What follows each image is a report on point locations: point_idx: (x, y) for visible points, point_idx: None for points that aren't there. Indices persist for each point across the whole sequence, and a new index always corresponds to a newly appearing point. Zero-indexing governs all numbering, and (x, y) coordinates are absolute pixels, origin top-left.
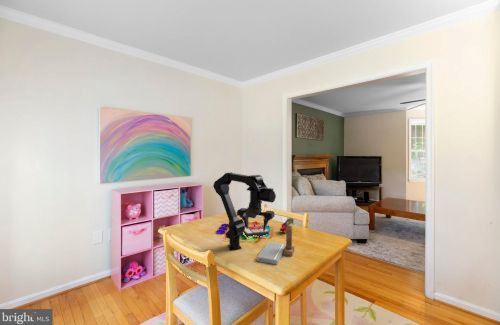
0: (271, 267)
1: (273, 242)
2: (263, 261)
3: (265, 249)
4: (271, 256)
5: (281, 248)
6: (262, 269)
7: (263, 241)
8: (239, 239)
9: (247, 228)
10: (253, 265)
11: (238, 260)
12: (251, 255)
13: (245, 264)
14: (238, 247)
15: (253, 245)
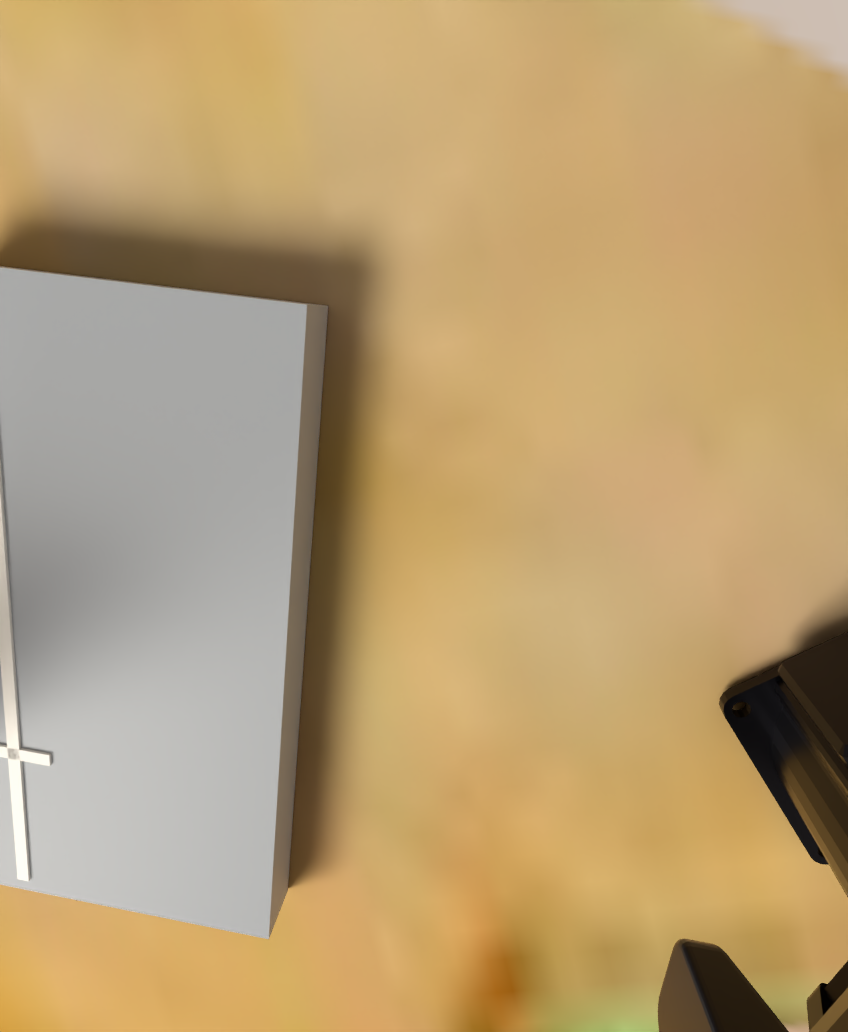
0: (36, 135)
1: (187, 916)
2: (208, 291)
3: (241, 642)
4: (63, 392)
5: (4, 727)
6: (155, 4)
7: (399, 993)
8: (835, 846)
9: (672, 974)
10: (347, 107)
11: (678, 222)
12: (476, 485)
13: (504, 97)
14: (785, 673)
15: (528, 846)
